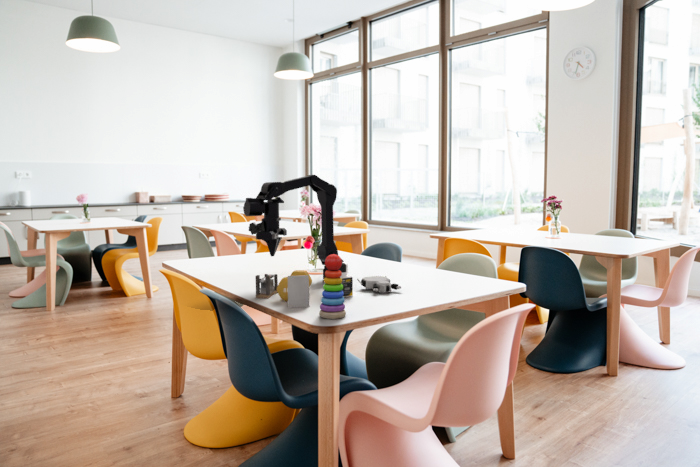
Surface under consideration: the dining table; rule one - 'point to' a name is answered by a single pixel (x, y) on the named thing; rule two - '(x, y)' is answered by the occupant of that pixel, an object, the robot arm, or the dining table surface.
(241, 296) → the dining table surface
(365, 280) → the robot toy
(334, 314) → the stacking toy
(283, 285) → the dumbbell
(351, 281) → the medicine bottle
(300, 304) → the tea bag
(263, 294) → the grey and tan frame
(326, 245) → the robot arm
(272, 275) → the grey bar
